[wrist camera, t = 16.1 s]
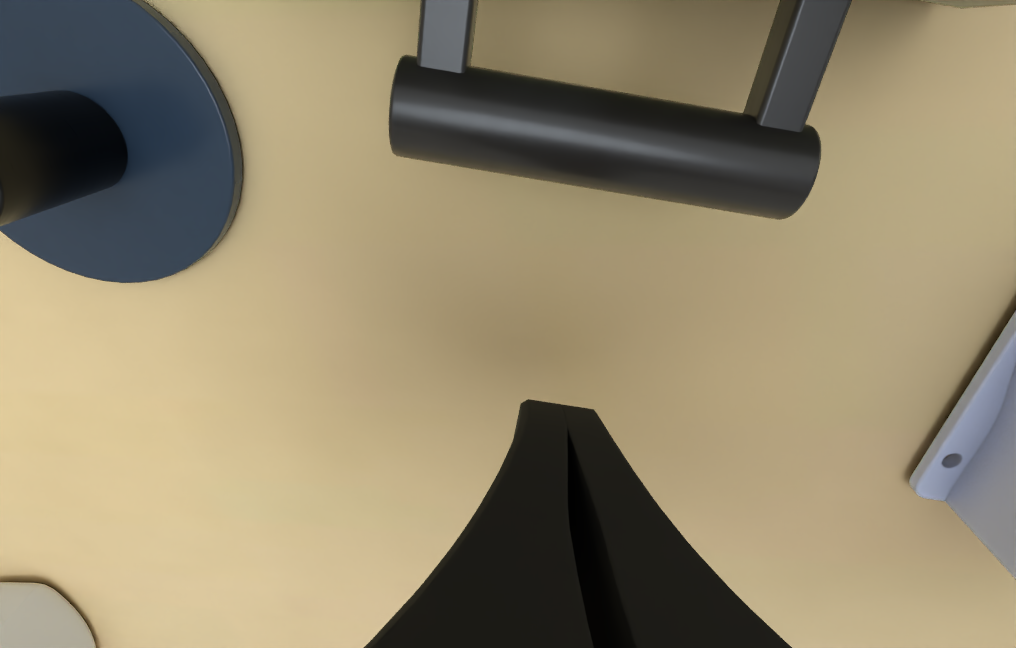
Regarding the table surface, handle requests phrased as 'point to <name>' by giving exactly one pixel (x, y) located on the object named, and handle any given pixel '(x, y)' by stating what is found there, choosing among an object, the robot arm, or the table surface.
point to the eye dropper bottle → (39, 618)
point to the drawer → (623, 118)
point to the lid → (111, 140)
